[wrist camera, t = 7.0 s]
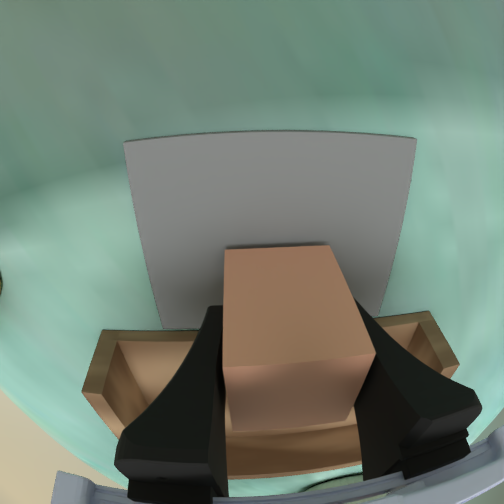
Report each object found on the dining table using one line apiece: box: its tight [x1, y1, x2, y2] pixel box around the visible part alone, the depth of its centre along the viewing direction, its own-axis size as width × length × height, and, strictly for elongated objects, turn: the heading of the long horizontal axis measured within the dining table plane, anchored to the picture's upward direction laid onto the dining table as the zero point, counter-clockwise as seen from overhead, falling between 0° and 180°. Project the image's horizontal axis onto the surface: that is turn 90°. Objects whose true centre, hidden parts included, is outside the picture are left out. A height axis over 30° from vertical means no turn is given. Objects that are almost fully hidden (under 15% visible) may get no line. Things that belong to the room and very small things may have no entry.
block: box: [223, 245, 376, 432], centre depth 12 cm, size 4×4×6 cm
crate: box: [82, 311, 460, 479], centre depth 19 cm, size 14×20×4 cm
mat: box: [123, 130, 417, 329], centre depth 14 cm, size 10×12×1 cm
